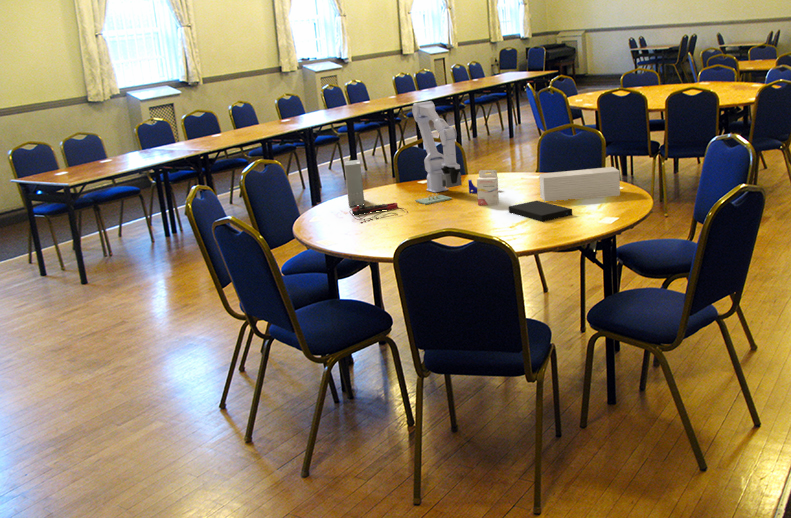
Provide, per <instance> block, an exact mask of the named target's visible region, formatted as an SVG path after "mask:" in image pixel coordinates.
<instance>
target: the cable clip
mask: <svg viewBox="0 0 791 518" xmlns="http://www.w3.org/2000/svg"><path fill="white" fill-rule="evenodd" d="M467 181H468V193H469V195H470V194H471V193H472V194H478V193H477V186H476V185H474V183H473V182H472V179H468V180H467Z"/></svg>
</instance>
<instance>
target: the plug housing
mask: <svg viewBox="0 0 791 518" xmlns="http://www.w3.org/2000/svg"><path fill="white" fill-rule="evenodd" d="M441 177H442V187H445V188H447V189H449V188H453V187H458V186H462V183H463V182H462V173H461V172H460V171H459V174H458V178H457V183H454V184H452V181H451V176H450V173H446V174H441Z"/></svg>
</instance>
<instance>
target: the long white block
mask: <svg viewBox="0 0 791 518" xmlns="http://www.w3.org/2000/svg"><path fill="white" fill-rule="evenodd" d="M620 171H621V170H619V169H618V168H616V167H614V166H608V167H597V168H586V169H577V170H567V171H565V170H564V171H554V172H545V173H539V174H538V175H539V177H538V178H539V195H540V199H541V198H542V199H543V200H544V201H543V200H542V199H541V200H542V201H543V202H545V201H553V202H557V201H556V200H564V201H569V200H568V199H575V200H582V199H581V198H586V199H593V198H604V197H605V198H606V197H616V196H617V197H618V196H621V179H620V177H621V175H620V173H621V172H620ZM545 203H546V202H545Z"/></svg>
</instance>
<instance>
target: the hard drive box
mask: <svg viewBox="0 0 791 518" xmlns="http://www.w3.org/2000/svg"><path fill="white" fill-rule="evenodd" d="M343 163H344V174H345V181H346V182H345V183H346V193H347V201H348V207H349V206H352V207H355V206H354V205H363V204H366V203H365V196H364V195H365V194H364V185H363V176H362V168H361V167H362V166H361V161H360V159H355V160H352V159H351V160H347V161H343Z"/></svg>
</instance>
